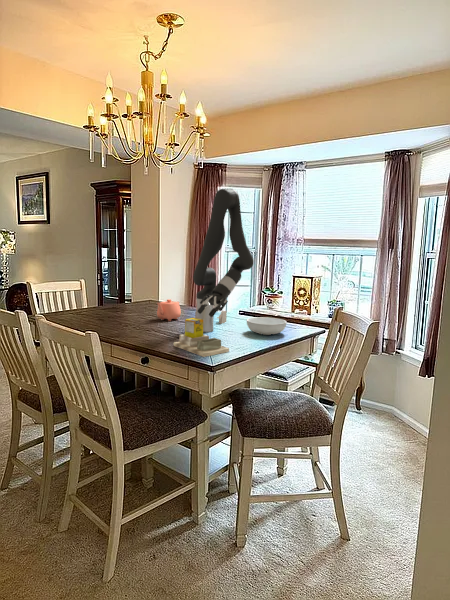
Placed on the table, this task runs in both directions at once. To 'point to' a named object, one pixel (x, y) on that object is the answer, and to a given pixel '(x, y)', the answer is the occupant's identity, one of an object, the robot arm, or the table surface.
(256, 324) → the serving bowl
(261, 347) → the table surface
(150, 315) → the table surface
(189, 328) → the supplement box
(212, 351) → the beige compartment tray
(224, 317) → the architectural model
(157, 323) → the table surface
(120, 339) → the table surface
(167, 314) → the teapot
